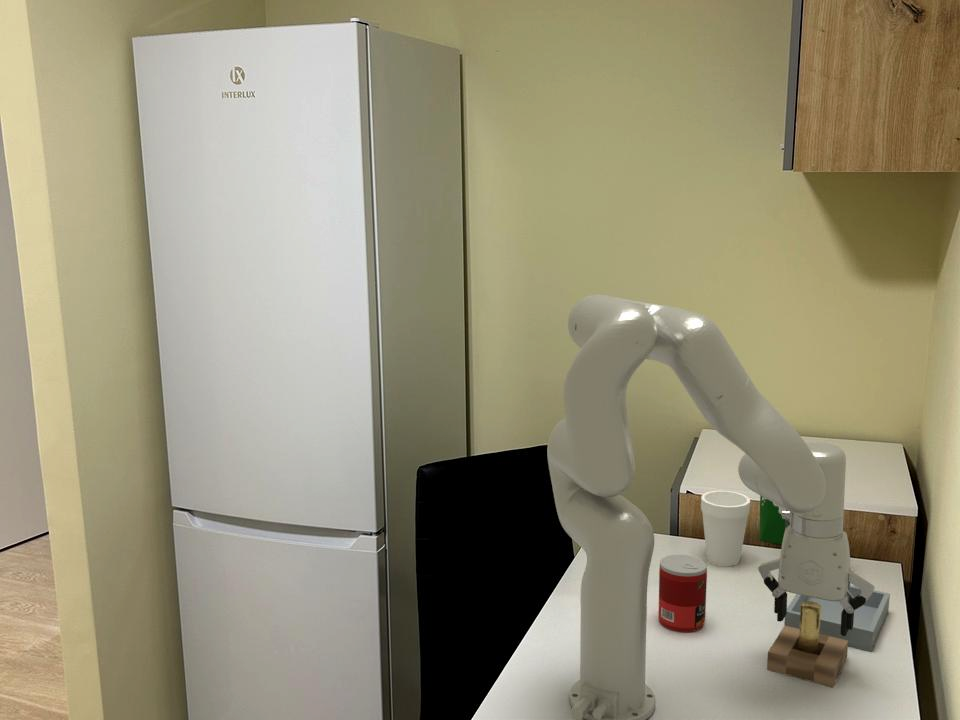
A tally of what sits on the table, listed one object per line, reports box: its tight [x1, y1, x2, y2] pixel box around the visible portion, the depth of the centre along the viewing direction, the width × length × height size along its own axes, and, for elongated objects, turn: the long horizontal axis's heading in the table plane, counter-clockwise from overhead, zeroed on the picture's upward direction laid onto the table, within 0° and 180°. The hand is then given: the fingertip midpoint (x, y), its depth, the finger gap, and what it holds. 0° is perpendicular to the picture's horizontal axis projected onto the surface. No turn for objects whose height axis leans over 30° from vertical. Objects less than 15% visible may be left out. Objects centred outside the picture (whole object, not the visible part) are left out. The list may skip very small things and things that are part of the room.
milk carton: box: [759, 495, 786, 545], centre depth 196 cm, size 9×9×20 cm
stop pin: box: [798, 601, 821, 655], centre depth 148 cm, size 3×3×10 cm
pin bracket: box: [766, 626, 849, 688], centre depth 148 cm, size 10×10×3 cm
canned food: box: [658, 554, 708, 633], centre depth 161 cm, size 8×8×11 cm
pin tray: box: [783, 584, 891, 653], centre depth 162 cm, size 16×14×4 cm
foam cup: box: [700, 490, 751, 567], centre depth 186 cm, size 10×9×13 cm
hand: (812, 625), depth 147 cm, fingers open, 9 cm apart
